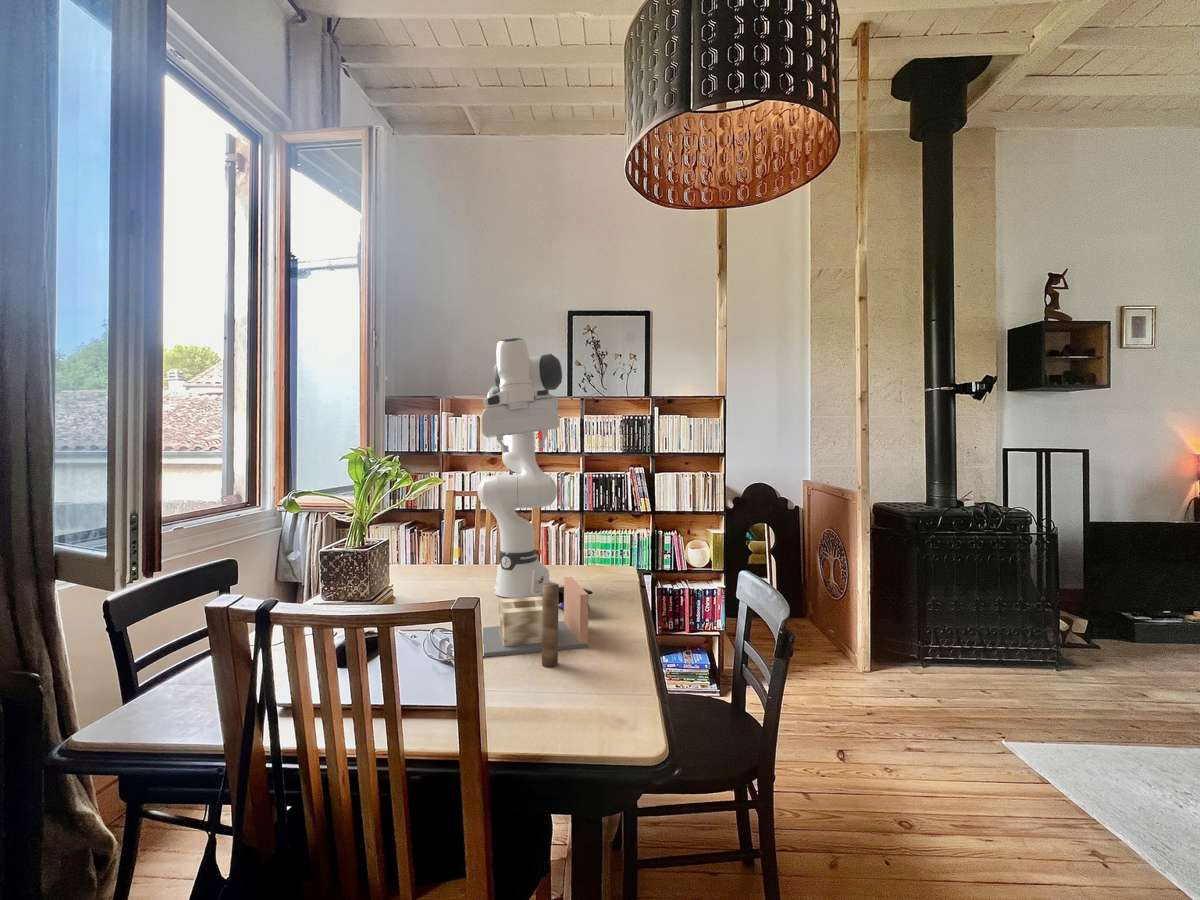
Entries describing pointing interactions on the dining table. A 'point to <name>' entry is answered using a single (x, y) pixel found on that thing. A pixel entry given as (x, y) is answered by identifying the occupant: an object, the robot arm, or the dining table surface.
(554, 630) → the dowel
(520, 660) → the dining table surface
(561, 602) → the figurine character
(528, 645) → the backstop
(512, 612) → the block
